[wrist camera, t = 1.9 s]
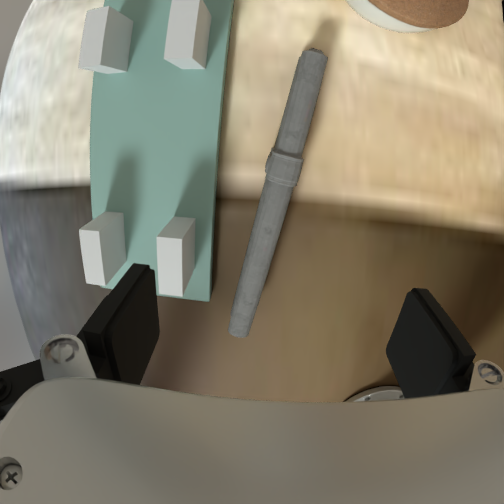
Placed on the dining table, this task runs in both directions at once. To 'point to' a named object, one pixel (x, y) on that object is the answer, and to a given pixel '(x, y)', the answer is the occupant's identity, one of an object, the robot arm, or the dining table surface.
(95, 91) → the jaw cradle
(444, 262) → the dining table surface
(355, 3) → the lidded jar
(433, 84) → the dining table surface
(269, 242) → the metal rod assembly
